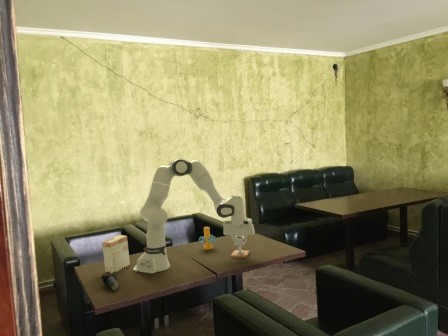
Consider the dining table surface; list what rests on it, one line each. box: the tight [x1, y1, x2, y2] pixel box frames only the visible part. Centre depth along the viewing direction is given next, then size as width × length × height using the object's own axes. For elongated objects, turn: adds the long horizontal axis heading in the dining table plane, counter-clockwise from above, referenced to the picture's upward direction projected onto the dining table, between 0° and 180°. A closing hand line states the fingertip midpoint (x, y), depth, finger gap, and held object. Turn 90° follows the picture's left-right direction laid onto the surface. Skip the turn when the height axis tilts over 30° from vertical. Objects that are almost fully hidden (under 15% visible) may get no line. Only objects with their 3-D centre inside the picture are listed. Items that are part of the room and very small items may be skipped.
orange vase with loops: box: [198, 226, 217, 251], centre depth 258 cm, size 12×10×15 cm
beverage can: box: [100, 271, 120, 291], centre depth 203 cm, size 9×8×12 cm
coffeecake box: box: [101, 234, 131, 274], centre depth 230 cm, size 15×7×20 cm, turn 152°
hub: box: [233, 235, 246, 246], centre depth 239 cm, size 6×6×5 cm
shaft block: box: [230, 245, 250, 259], centre depth 239 cm, size 10×10×10 cm
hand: (239, 241), depth 239 cm, fingers closed on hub, 6 cm apart
